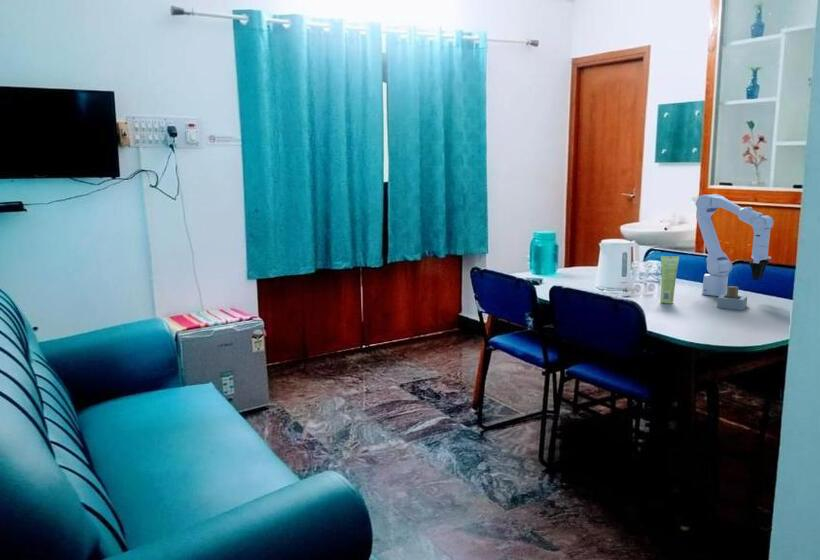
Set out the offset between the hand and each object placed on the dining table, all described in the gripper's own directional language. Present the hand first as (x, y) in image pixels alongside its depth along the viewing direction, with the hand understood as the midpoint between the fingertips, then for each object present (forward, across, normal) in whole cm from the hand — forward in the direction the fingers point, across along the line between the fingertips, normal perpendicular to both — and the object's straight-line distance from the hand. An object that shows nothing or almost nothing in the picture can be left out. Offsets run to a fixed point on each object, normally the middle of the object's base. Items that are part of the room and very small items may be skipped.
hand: (757, 278), depth 260 cm
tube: (+10, -22, +29) cm, 38 cm away
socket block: (+10, -15, +6) cm, 19 cm away
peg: (+10, -15, +6) cm, 19 cm away
